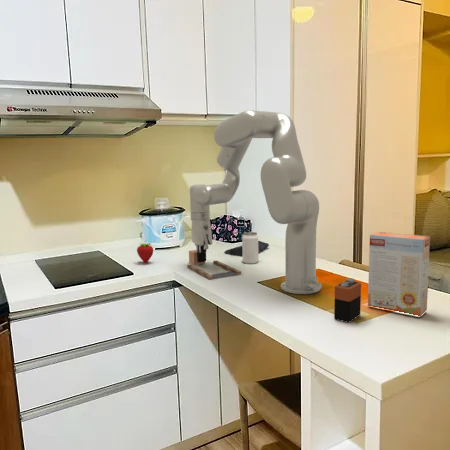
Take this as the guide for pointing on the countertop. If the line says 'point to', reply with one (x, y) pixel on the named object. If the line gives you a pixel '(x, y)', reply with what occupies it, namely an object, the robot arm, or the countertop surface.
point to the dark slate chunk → (238, 250)
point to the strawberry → (145, 252)
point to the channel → (219, 275)
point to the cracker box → (398, 272)
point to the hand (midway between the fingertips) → (201, 261)
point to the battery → (347, 300)
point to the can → (250, 247)
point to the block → (194, 258)
